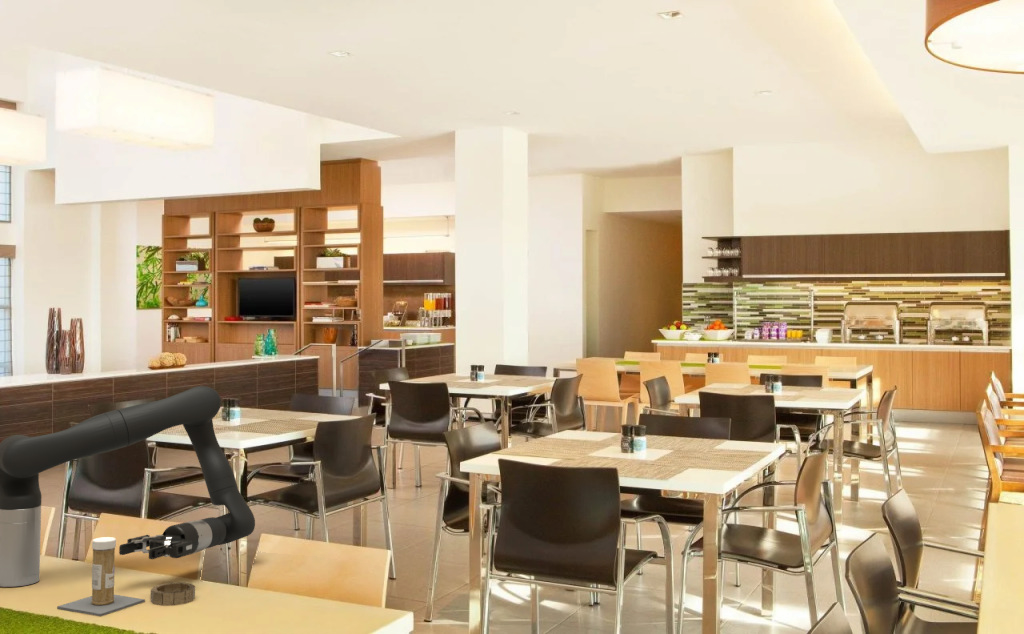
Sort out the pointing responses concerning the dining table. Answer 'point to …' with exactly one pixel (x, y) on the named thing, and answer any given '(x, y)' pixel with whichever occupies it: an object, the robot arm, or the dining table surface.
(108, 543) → the sprinkles bottle
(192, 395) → the robot arm
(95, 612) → the rubber mat
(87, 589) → the dining table surface
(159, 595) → the ring holder
